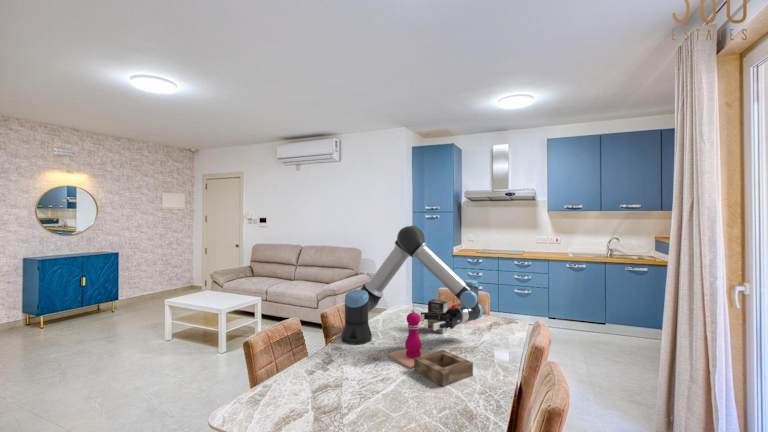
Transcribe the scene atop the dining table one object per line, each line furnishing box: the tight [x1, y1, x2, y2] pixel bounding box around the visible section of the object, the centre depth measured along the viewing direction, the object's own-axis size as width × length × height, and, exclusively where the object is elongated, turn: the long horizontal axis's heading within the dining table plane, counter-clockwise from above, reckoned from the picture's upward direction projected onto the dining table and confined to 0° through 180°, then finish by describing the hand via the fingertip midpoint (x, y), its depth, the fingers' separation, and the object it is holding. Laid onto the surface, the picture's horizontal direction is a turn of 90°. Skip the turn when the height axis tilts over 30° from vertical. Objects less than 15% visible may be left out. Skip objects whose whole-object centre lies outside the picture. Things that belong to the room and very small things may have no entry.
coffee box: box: [427, 298, 448, 335], centre depth 188 cm, size 9×6×16 cm
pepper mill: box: [404, 309, 423, 358], centre depth 152 cm, size 7×7×20 cm
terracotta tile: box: [386, 348, 431, 370], centre depth 152 cm, size 16×16×1 cm
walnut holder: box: [413, 349, 474, 388], centre depth 137 cm, size 16×16×5 cm
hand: (422, 323), depth 154 cm, fingers open, 13 cm apart
